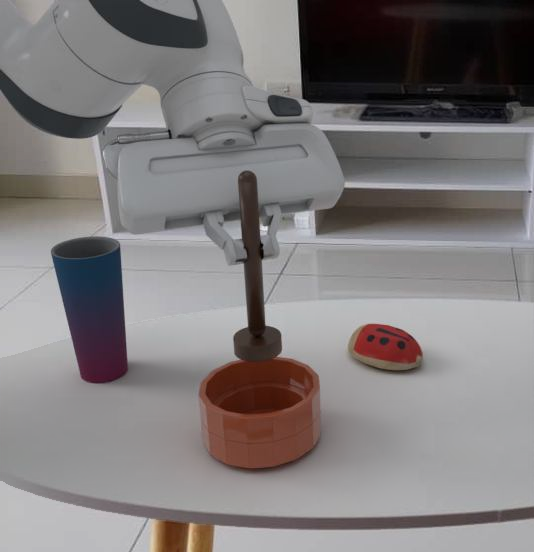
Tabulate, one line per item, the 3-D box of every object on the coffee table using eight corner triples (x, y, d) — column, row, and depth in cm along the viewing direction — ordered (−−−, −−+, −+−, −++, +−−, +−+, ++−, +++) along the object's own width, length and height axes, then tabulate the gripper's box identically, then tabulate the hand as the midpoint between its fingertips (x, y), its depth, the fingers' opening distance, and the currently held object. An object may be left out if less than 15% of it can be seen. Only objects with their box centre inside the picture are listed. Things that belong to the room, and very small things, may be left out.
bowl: (199, 478, 68) (193, 421, 65) (209, 410, 78) (204, 359, 75) (323, 468, 69) (322, 413, 67) (317, 403, 79) (316, 353, 77)
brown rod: (233, 363, 67) (218, 178, 61) (235, 341, 71) (221, 164, 65) (282, 360, 68) (273, 177, 61) (282, 338, 72) (273, 163, 65)
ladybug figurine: (365, 336, 94) (366, 311, 92) (435, 357, 89) (437, 330, 88) (335, 359, 88) (334, 332, 87) (408, 382, 84) (408, 354, 82)
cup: (143, 376, 84) (128, 250, 78) (80, 393, 80) (58, 263, 74) (126, 351, 89) (110, 232, 83) (65, 366, 85) (44, 243, 80)
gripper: (98, 115, 63) (132, 263, 59) (325, 100, 72) (369, 227, 67) (98, 156, 68) (130, 294, 64) (309, 137, 77) (349, 257, 73)
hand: (254, 259), depth 66 cm, fingers closed on brown rod
